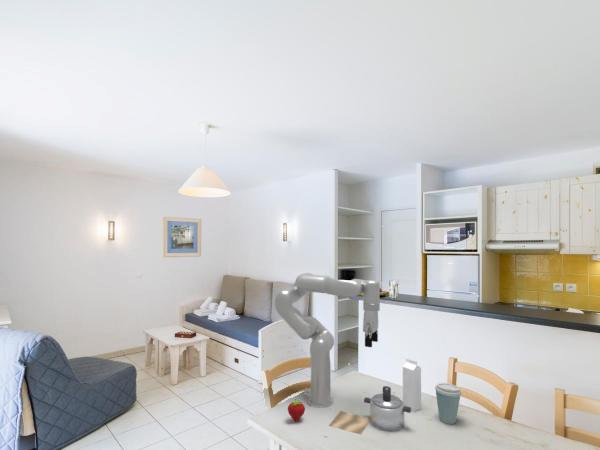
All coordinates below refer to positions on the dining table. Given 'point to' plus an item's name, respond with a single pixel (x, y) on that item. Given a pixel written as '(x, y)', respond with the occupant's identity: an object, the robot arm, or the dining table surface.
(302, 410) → the strawberry
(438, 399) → the disposable coffee cup
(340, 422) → the trivet
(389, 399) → the lid
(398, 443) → the dining table surface
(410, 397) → the milk
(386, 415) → the pot
